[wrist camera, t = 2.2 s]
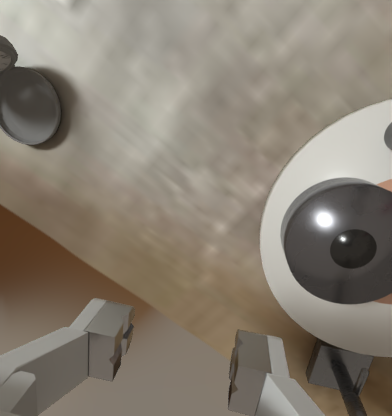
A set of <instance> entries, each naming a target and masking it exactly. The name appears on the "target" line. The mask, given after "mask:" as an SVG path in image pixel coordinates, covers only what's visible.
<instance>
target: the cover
mask: <svg viewBox="0 0 392 416" xmlns="http://www.w3.org/2000/svg"><path fill="white" fill-rule="evenodd" d="M280 238H281V244H282V248H283V251H284V254H285V257H286V260H287V263H288V266H289V268H290V271H291V273H292V275H293V276H294V278H295V280H296V281H297V282H298V283H299V284H300V285H301V286H302V287H303V288H304V289H305V290H306V291H308V292H309V293H311V294H312V295H314V296H316V297H318V298H320V299H323V300H325V301H329V302H333V303H338V304H362V303H368V302H371V301H375V300H378V299H381V298H383V297H385V296H387V295H389V294H391V293H392V192H391V191H388V190H386V189H384V188H382V187H380V186H378V185H376V184H374V183H371V182H369V181H366V180H363V179H358V178H350V177H342V178H333V179H329V180H325V181H322V182H320V183H317V184H315V185H313V186H311V187H309V188H308V189H306V190H305V191H303V192H302V193H301V194H300V195H299V196H298V197H296V199H295V200H294V201H293V202H292V203H291V205H290V206H289V208H288V209H287V211H286V213H285V215H284V217H283V220H282V224H281V231H280Z"/></svg>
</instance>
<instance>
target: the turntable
mask: <svg viewBox="0 0 392 416" xmlns="http://www.w3.org/2000/svg"><path fill="white" fill-rule="evenodd" d="M342 177H350V178H358V179H363V180H366V181H369V182H371V183H374V184H376V185H378V186H380V187H382V188H384V189H386V190H388V191H391V192H392V99H389V100H384V101H381V102H378V103H375V104H372V105H369V106H365V107H363V108H360V109H358V110H356V111H354V112H352V113H349V114H347V115H345V116H343V117H341V118H339V119H338V120H336V121H334V122H333V123H331V124H329V125H328V126H326V127H325V128H323V129H322V130H321V131H319V132H318V133H317V134H315V135H314V136H313V137H312V138H310V139H309V140H308V141H307V142H306V143H305V144H304V145H303V146H302V147H301V148H300V149H299V150H298V151H297V152H296V153H295V154H294V155H293V156H292V157H291V159H290V160H289V161H288V162H287V164H286V165H285V166H284V167H283V169H282V170H281V172H280V174H279V175H278V177H277V178H276V180H275V182H274V183H273V185H272V188H271V190H270V192H269V194H268V197H267V199H266V202H265V206H264V209H263V212H262V217H261V224H260V252H261V259H262V265H263V269H264V272H265V276H266V279H267V282H268V284H269V286H270V288H271V291H272V293H273V295H274V296H275V298H276V299H277V301H278V302H279V304H280V305H281V307H282V308H283V309H284V310H285V311H286V313H287V314H288V315H289V316H290V317H291V318H292V319H293V320H294V321H295V322H296V323H298V324H299V325H300V326H301V327H302V328H303V329H305V330H306V331H308V332H309V333H311V334H312V335H314V336H315V337H317V338H319V339H321V340H323V341H325V342H327V343H329V344H331V345H334V346H336V347H339V348H342V349H344V350H348V351H352V352H356V353H359V354H365V355H371V356H379V357H392V293H391V294H389V295H387V296H385V297H383V298H381V299H378V300H375V301H371V302H368V303H362V304H338V303H333V302H329V301H325V300H323V299H320V298H318V297H316V296H314V295H312V294H311V293H309V292H308V291H306V290H305V289H304V288H303V287H302V286H301V285H300V284H299V283H298V282H297V281H296V280H295V278H294V276H293V275H292V273H291V271H290V268H289V266H288V263H287V260H286V257H285V254H284V251H283V248H282V244H281V238H280V231H281V224H282V220H283V217H284V215H285V213H286V211H287V209H288V208H289V206H290V205H291V203H292V202H293V201H294V200H295V199H296V197H298V196H299V195H300V194H301V193H302V192H303V191H305V190H306V189H308V188H309V187H311V186H313V185H315V184H317V183H320V182H322V181H325V180H329V179H333V178H342Z"/></svg>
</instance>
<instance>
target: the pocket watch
mask: <svg viewBox="0 0 392 416" xmlns="http://www.w3.org/2000/svg"><path fill="white" fill-rule="evenodd" d="M17 58H18V54H17V52H16V50H15V48H14V47H13V45H12V44H11V43H10V42H9V41H8V40H7V39H6V38H5V37H3V36H0V128H1V129H2V131H3V132H4V133H5V134H6V135H8V136H9V137H10V138H12V139H13V140H15V141H17V142H19V143H22V144H27V145H35V144H39V143H43V142H45V141H47V140H48V139H50V138H51V137H52V136H53V135H54V134H55V132H56V131H57V128H58V126H59V123H60V117H61V108H60V102H59V99H58V96H57V94H56V92H55V90H54V88H53V87H52V85H51V84H50V83H49V81H48V80H47V79H46V78H45V77H43V76H42V75H41V74H39V73H38V72H36V71H33V70H31V69H29V68H25V67H15V65H14V64H15V63H16V61H17Z"/></svg>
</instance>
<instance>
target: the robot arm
mask: <svg viewBox="0 0 392 416" xmlns="http://www.w3.org/2000/svg"><path fill="white" fill-rule="evenodd" d="M134 316H135V309H134V307H132V306H128V305H124V304H120V303H115V302H111V301H106V300H102V299H98V298H94V299H92V300H91V301H90V303H89V304H88V305H87V306H86V308H85V309H84V310H83V311H82V313H81V314H80V315H79V316H78V317H77V319H76V320H75V321H74V322H73V323H72V325H71V326H70V327H69V328H68V327H64V328H61V329H59V330H57V331H54V332H52V333H50V334H48V335H46V336H43V337H41V338H39V339H37V340H34V341H32V342H30V343H27V344H25V345H23V346H21V347H19V348H16V349H14V350H12V351H9V352H7V353H5V354H3V355H1V356H0V416H38V415H39V414H40V413H42V412H43V411H44V410H46V409H47V408H48V407H50V406H51V405H52V404H54V403H55V402H56V401H58V400H59V399H60V398H62V397H63V396H64V395H65V394H67V393H68V392H70V391H71V390H72V389H74V388H75V387H76V386H77V385H79V384H80V383H82V382H83V381H84V380H85V379H87V377H88V376H89V377H93V378H98V379H103V380H108V381H113V380H114V378H115V376H116V373H117V371H118V369H119V367H120V365H121V357H122V356H124V355H125V354H126V353H127V351H128V349H129V346H130V343H131V340H132V335H133V328H134V326H133V325H132V323H131V322H132V320H133V318H134ZM229 379H230V380H231V382H230V386H229V393H228V410H231V411H235V412H238V413H242V414H245V415H249V416H325V415H324V413H323V412H322V411H321V410H320V409H319V408H318V406H317V405H316V404H315V403H314V402H313V400H312V399H311V398H310V397H309V396H308V394H307V393H306V392H305V391H304V390H303V389H302V387H301V386H300V385H299V384H298V383H297V381H296V380H295V379H291V378H290V375H289V370H288V365H287V360H286V355H285V350H284V345H283V340H282V339H281V338H280V337H275V336H270V335H263V334H258V333H253V332H248V331H244V330H239V329H238V330H237V332H236V337H235V347H234V348H233V350H232V355H231V361H230V371H229Z"/></svg>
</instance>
